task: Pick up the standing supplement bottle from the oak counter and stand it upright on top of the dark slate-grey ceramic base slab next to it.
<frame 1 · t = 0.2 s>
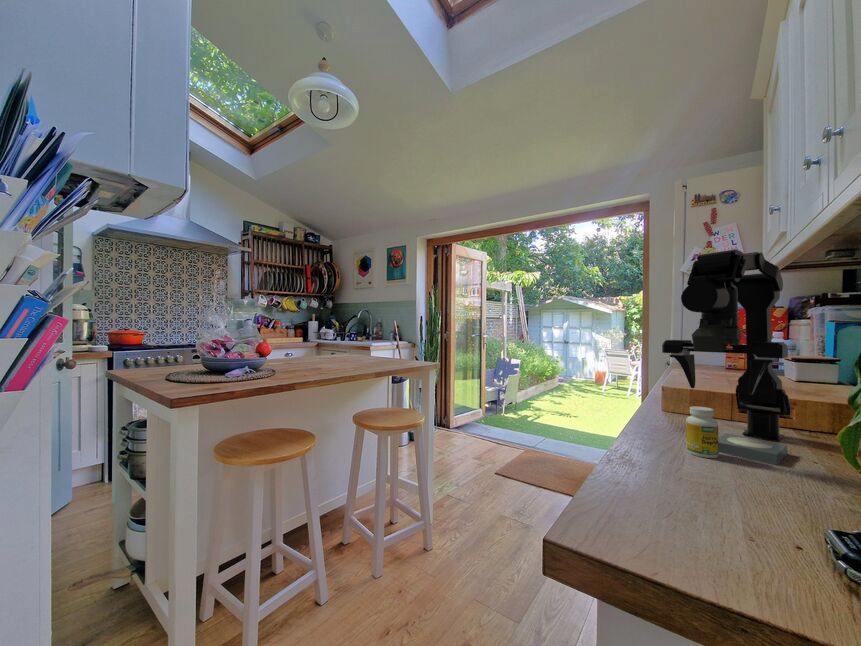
hand: (720, 391, 70), 14 cm above the countertop, fingers open, 9 cm apart
slate base: (749, 452, 74), on the countertop
supplement bottle: (702, 455, 73), on the countertop
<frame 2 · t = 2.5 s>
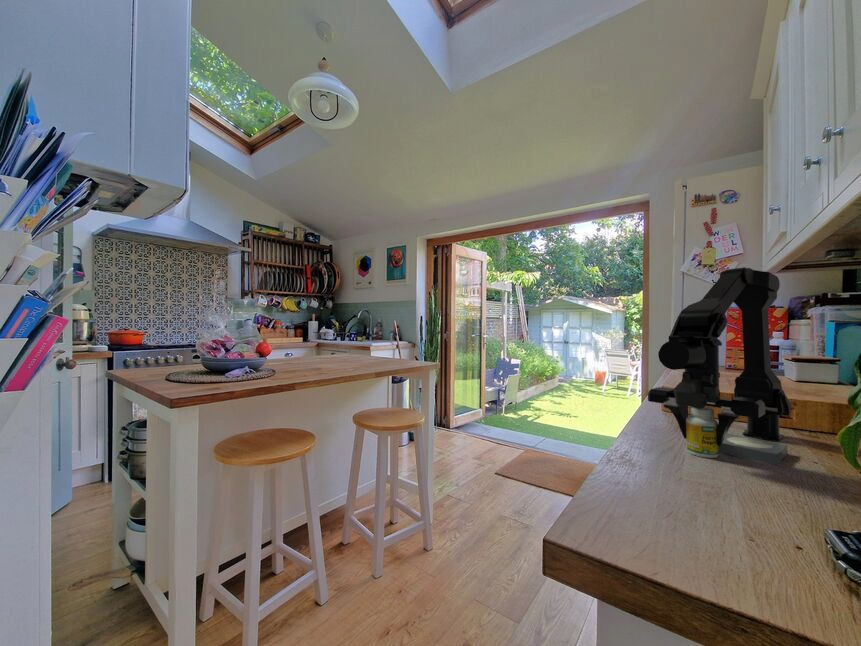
hand: (702, 441, 73), 3 cm above the countertop, fingers closed on supplement bottle, 5 cm apart
supplement bottle: (702, 455, 73), on the countertop, touching gripper
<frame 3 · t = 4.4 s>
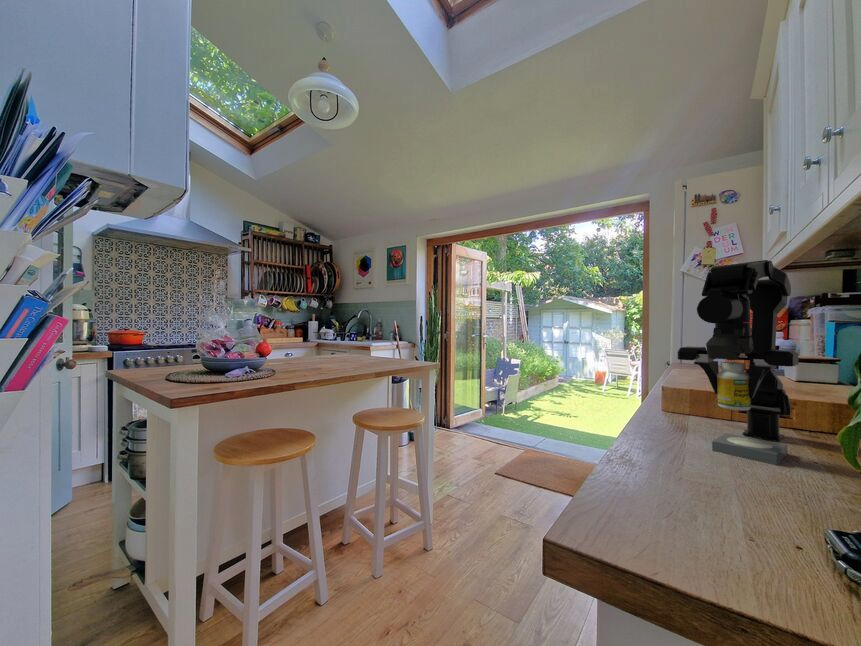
hand: (733, 395, 74), 12 cm above the countertop, fingers closed on supplement bottle, 5 cm apart
supplement bottle: (733, 408, 74), point 9 cm above the countertop, touching gripper
when the fingers open (5 cm above the countertop, at t = 6.7 s): supplement bottle stays where it is, resting on slate base.
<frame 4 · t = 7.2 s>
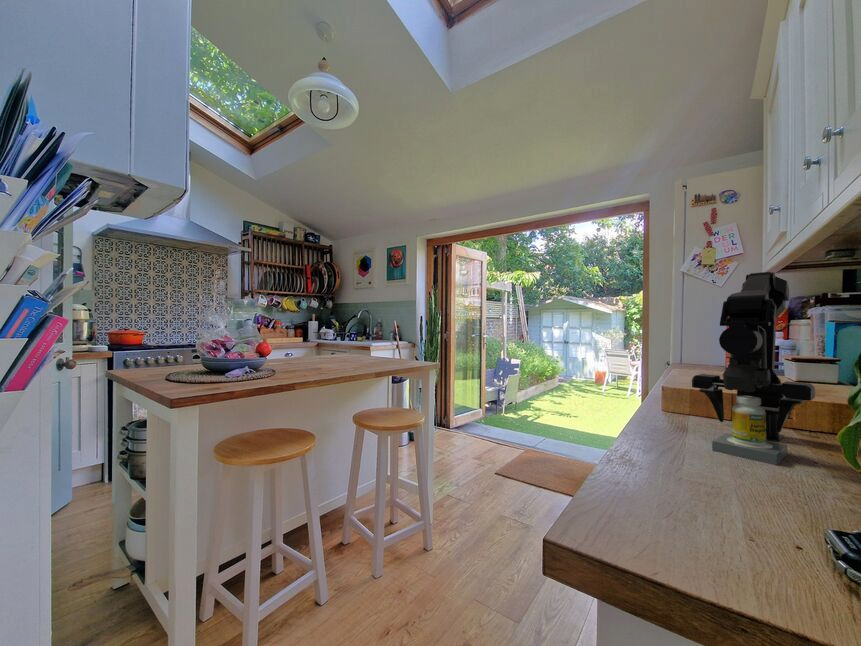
hand: (748, 426, 74), 5 cm above the countertop, fingers open, 9 cm apart
supplement bottle: (749, 443, 74), point 2 cm above the countertop, touching slate base
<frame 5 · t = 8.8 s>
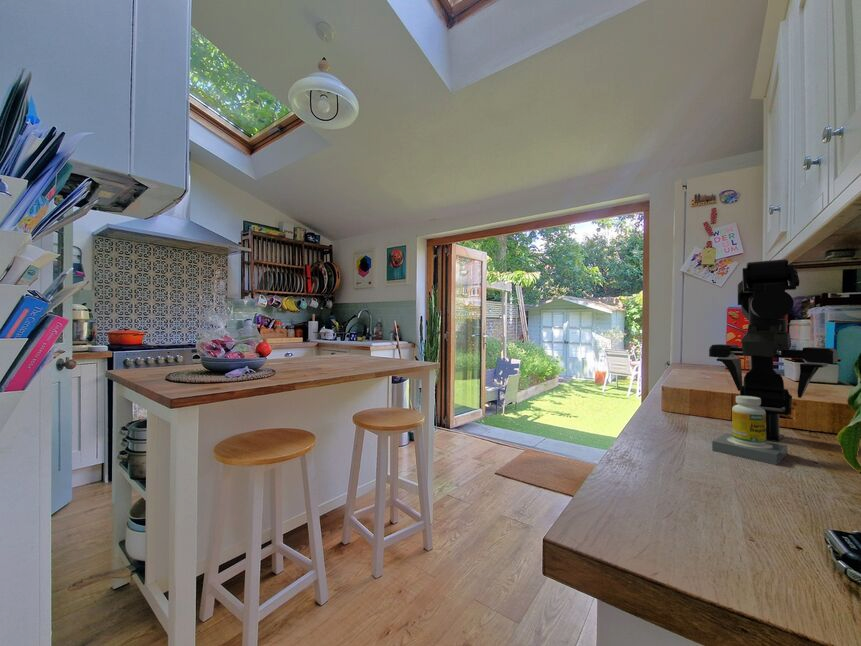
hand: (768, 394, 73), 13 cm above the countertop, fingers open, 9 cm apart
nothing on the countertop moved.
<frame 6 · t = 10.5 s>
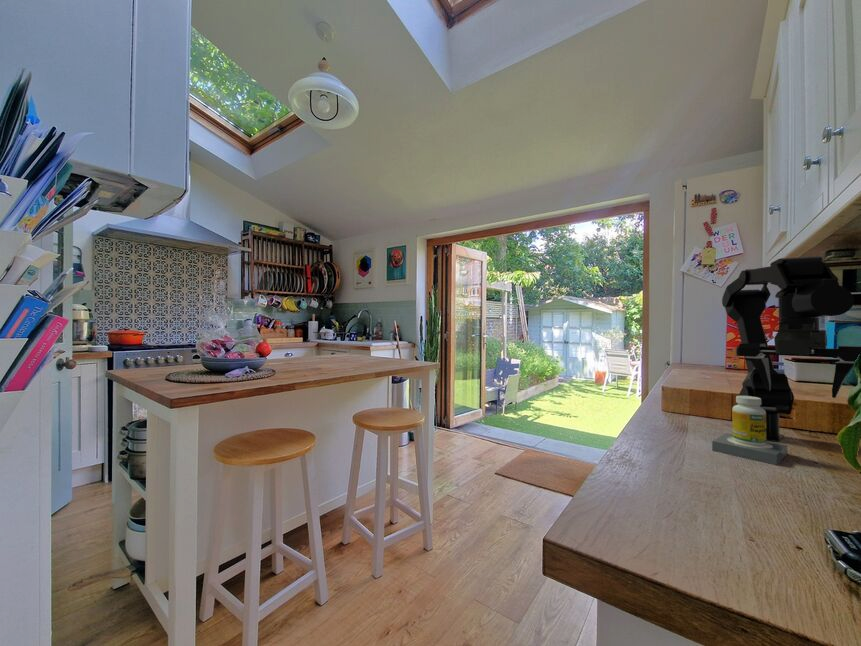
hand: (799, 394, 71), 13 cm above the countertop, fingers open, 9 cm apart
nothing on the countertop moved.
at the end: supplement bottle 0.0 cm off-centre on the slate base, point 1.9 cm above the slate base's base; supplement bottle tilted 0°; the gripper is holding nothing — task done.
